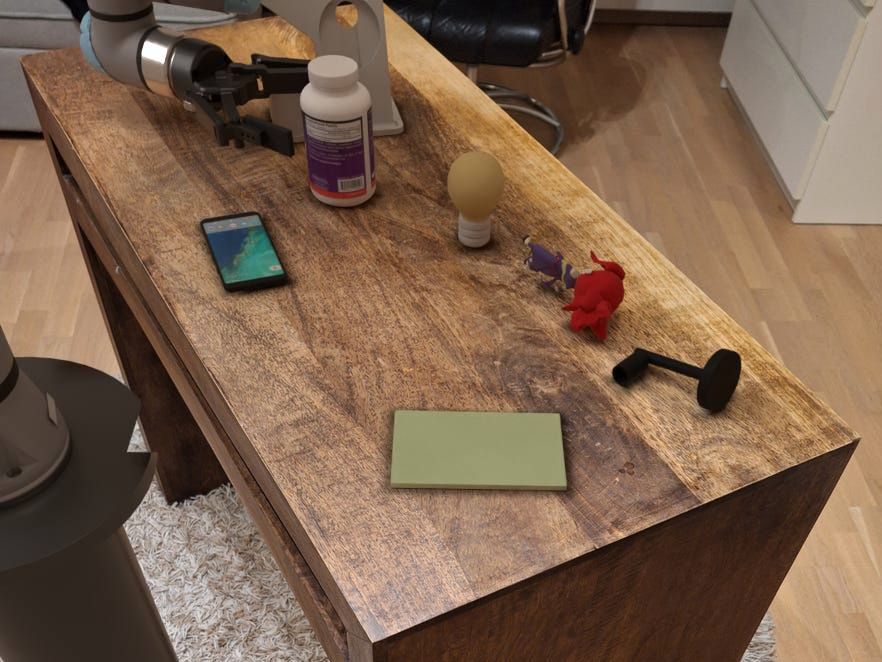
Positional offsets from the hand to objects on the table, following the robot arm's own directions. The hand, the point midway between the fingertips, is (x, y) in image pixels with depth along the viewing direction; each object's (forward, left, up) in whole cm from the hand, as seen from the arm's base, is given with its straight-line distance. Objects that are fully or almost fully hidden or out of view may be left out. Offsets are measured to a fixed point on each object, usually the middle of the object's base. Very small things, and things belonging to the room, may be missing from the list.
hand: (328, 120), depth 105 cm
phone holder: (-1, +18, -8) cm, 20 cm away
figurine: (+27, -24, -8) cm, 37 cm away
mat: (+17, -47, -8) cm, 51 cm away
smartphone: (-9, -15, -8) cm, 19 cm away
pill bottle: (+1, -1, -8) cm, 8 cm away
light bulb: (+17, -11, -8) cm, 22 cm away
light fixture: (+35, -39, -8) cm, 53 cm away
